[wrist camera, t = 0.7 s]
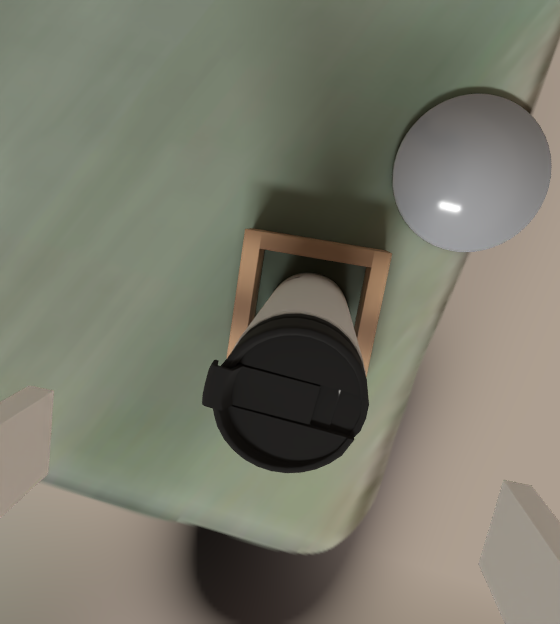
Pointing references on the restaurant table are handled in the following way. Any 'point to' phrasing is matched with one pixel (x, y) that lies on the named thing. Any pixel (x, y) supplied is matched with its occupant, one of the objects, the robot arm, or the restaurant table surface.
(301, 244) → the brown open square frame
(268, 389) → the travel mug
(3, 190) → the restaurant table surface
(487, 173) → the grey round disc
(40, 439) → the robot arm
